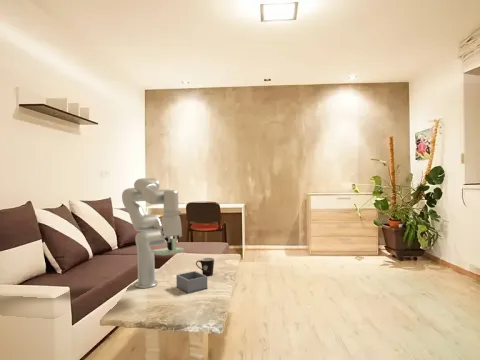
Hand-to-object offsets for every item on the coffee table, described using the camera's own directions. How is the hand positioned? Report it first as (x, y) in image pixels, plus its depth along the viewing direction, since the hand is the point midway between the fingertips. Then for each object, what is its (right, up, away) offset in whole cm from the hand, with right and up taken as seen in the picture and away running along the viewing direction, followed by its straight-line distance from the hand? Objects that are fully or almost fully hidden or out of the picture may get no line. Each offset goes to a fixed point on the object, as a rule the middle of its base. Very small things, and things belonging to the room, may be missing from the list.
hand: (171, 249), depth 171 cm
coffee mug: (+14, -25, +41) cm, 50 cm away
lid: (-3, -3, +4) cm, 5 cm away
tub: (+8, -25, +15) cm, 30 cm away
